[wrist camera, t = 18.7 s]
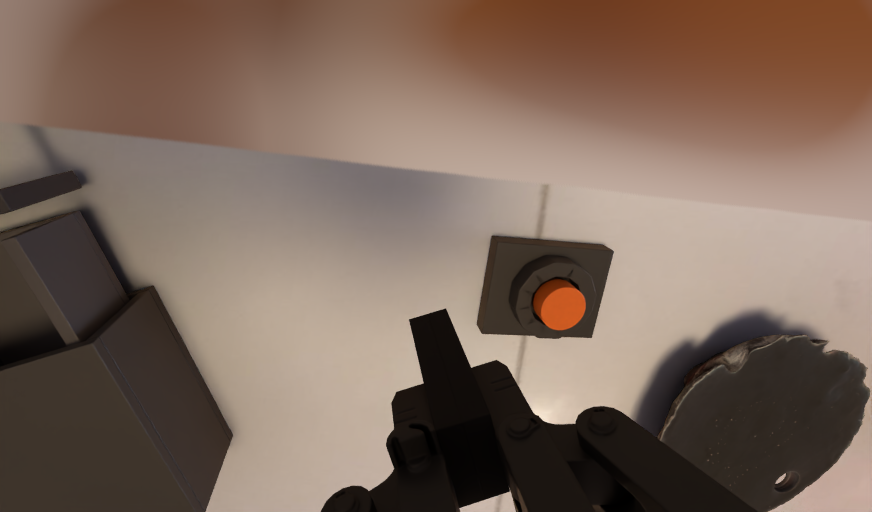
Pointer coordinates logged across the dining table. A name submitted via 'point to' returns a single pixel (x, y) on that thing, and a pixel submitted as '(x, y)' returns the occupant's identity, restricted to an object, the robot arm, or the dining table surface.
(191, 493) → the grey drawer box
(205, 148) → the dining table surface
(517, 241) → the control block
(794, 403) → the board
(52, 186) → the open sliding drawer
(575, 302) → the button
